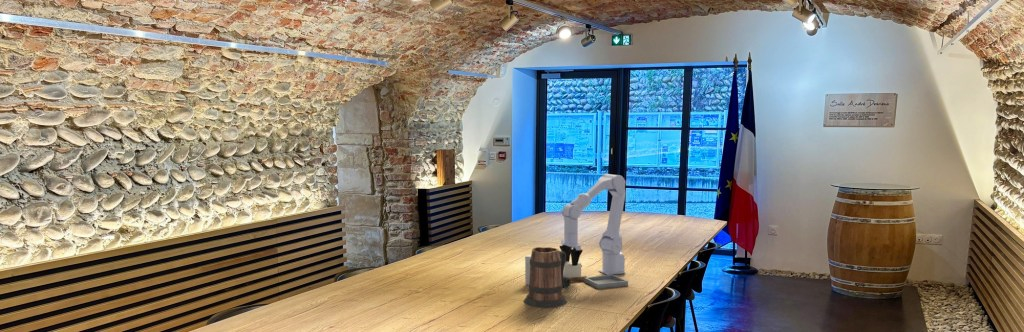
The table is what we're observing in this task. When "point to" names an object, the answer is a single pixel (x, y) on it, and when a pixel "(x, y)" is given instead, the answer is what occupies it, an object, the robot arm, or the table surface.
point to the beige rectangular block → (572, 270)
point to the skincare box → (527, 269)
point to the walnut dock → (577, 279)
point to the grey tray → (606, 281)
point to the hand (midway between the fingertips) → (570, 263)
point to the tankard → (547, 278)
